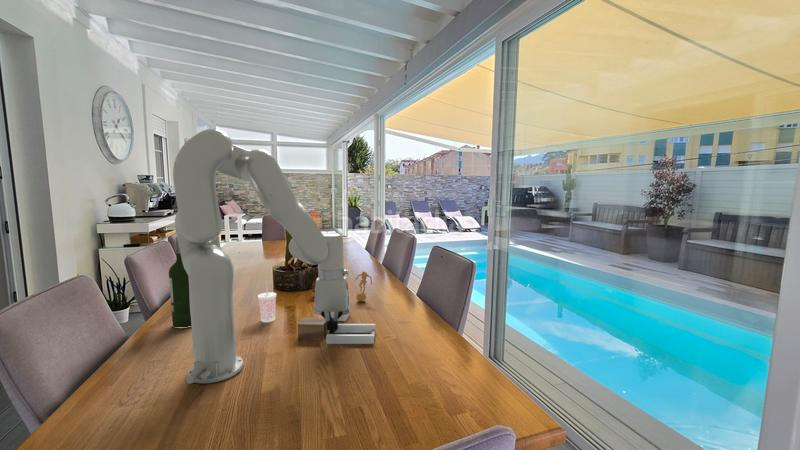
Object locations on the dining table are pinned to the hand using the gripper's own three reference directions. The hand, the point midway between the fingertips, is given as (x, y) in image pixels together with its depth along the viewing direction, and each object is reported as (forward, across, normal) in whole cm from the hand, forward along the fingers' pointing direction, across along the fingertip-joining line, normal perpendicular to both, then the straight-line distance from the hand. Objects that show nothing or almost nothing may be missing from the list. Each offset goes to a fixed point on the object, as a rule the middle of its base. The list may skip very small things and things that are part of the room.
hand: (332, 332), depth 111 cm
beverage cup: (+2, +25, -14) cm, 29 cm away
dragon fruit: (+2, +11, -42) cm, 44 cm away
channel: (+2, -6, 0) cm, 6 cm away
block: (+2, +6, -1) cm, 7 cm away
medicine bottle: (+2, +1, -16) cm, 17 cm away
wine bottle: (+2, +51, -10) cm, 52 cm away
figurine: (+2, -6, -34) cm, 35 cm away
